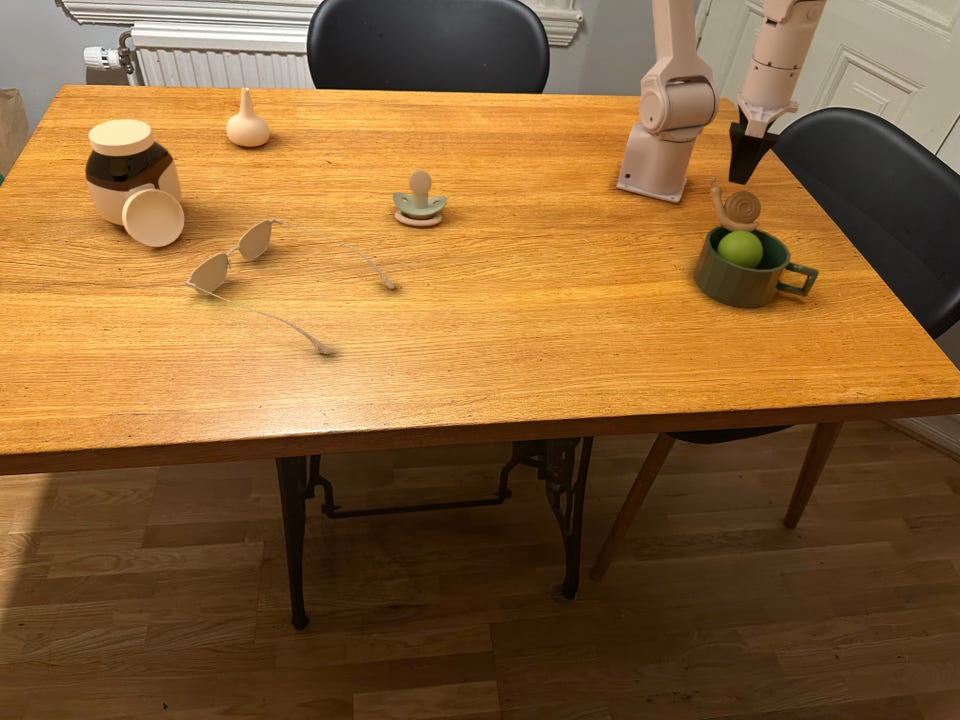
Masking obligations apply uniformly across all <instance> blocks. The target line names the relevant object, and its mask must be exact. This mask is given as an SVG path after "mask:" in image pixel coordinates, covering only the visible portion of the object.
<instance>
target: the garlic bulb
mask: <svg viewBox="0 0 960 720" xmlns="http://www.w3.org/2000/svg"><path fill="white" fill-rule="evenodd" d="M240 91H241V93H240V104H239V112H238V113H237V114H234V115H233V116H231V117H230V118H229V119H228V121H227V122H226V126H225V131H226V136H227V138H228V139H229V140H230V141H231V142H232V143H233V144H235V145H238V146H241V147H252V148H253V147H260V146H262V145H264V144H266V143H267V142H268V141H269V140H270V136H271V135H270V134H271V132H270V126H269V125H268V123H267V121H266V120H265V119H264V118H263V117H261V116H260V115H258V114H256V112H255V110H254V107H253V102H252V98H251V94H250V88H248V87H241V89H240Z"/></svg>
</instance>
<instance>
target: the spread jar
mask: <svg viewBox="0 0 960 720" xmlns="http://www.w3.org/2000/svg"><path fill="white" fill-rule="evenodd" d="M88 139H89V143H90V145H91V148H92V150H91V152H90V154H89V155H88V158H87V161H86V164H85V168H84V171H85V174H84V175H85V181H86V184H87V188H88V192H89V194H90V196H91V200H92V202H93V205H94V207H95V210H96V212H97V213H98V215H99V216H100V217H101V218H102V219H103V220H104V221H106V222H107V223H108V224H110V225H112V226H113V227H116V228H118V229H121V230H124V231H125V232H127V234H128V235H129V236H130V237H131V238H132V239H133V240H134V241H136V242H138V243H140V244H143V245H145V246H148V247H152V248H160V247H165V246H168V245H170V244H172V243H173V242H175V241H176V240H177V239H178V238H179V237H180V235H181V234H182V232H183V230H184V225H185V213H184V210H183V207H182V205H181V203H182V187H181V183H180V179H179V175H178V170H177V167H176V166H177V165H176V163H175V160H174V158H173V156H172V153H171V152H170V151H169V150H168V149H167V148H166V147H165V146H164V145H162V144H161V143H160V142H158V141H156V140H155V138H154V135H153V131H152V128H151V126H150V125H149V124H148V123H145V122H144V121H141V120H136V119H114V120H109V121H105V122H102V123H100V124H98V125H96V126H94V127H92V128H91V129H90V130H89V132H88Z"/></svg>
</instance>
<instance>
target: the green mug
mask: <svg viewBox="0 0 960 720" xmlns="http://www.w3.org/2000/svg"><path fill="white" fill-rule="evenodd" d="M729 233H732V232H731V231H729V230H727V229H725V228H724V227H722V226H721V225H719V226H715V227H714V228H712V229H711V230H710V231H708V232H707V233H706V236H705V240H704V243H703V246H702V248H701V252H700V253H699V257H698V260H697V262H696V266H695V269H694V271H693V279H694V282H695V284H696V286H697V287H698V288H699V290H701V291H702V292H703V293H704V294H705V295H706V296H708V297H709V298H711V299H713V300H715V301H717V302H719V303H721V304H723V305H727V306H731V307H734V308H742V309H754V308H755V309H756V308H760V307H764V306H765V305H767V304H768V303H770V302H771V301H772V300H773V299H774V297H775V296H776V294H777V292H778V291H781V292H784V293H787V294H791V295H795V296H798V297H802V298H806V297H808V296H809V294H810V293H811V290H812V288H813V286H814V285H815V282H816V280H817V278H818V277H819V274H820V272H819V269H817V268H813V267H810V266H806V265H802V264H799V263H795V262H791V256H792V255H791V253H790V251H789V249H788V246H787V245H786V244H785V243H784V242H783V241H781V239H779V238H778V237H776V236H775V235H772V234H770V233H769V232H767V231H764V230H762V229H759V228H756V229H755V230H753V231H752V232H750V233H752V234H754V235H755V236H756V237H757V238H758V239H759V240H760V242H761V244H762V248H763V255H762V259H761V261H760V263H759V265H758V266H757V267H756V268H755V269H750V268H745V267H742V266H739V265H736V264H734V263H731V262H729V261H727V260H726V259H724V258H723V257H721V256H719V255H718V254H717V253H716V252H717V247H718V245H719V243H720V241H721V240H722V239H723V238H724V237H725V236H726V235H728V234H729ZM787 271H788V272H793V273H796V274H799V275H803V276H807V277H806V279H805V281H804V283H803V285H802V287H800V286H796V285H793V284H789V283H786V282H782V280H783V278H784V276H785V274H786V272H787Z"/></svg>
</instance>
